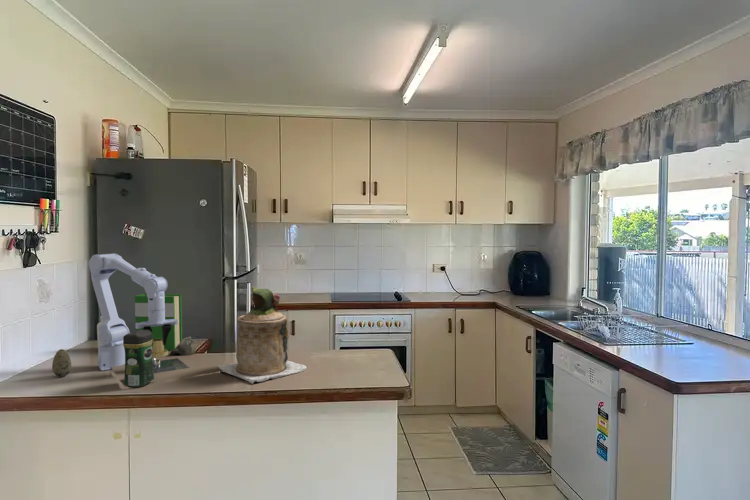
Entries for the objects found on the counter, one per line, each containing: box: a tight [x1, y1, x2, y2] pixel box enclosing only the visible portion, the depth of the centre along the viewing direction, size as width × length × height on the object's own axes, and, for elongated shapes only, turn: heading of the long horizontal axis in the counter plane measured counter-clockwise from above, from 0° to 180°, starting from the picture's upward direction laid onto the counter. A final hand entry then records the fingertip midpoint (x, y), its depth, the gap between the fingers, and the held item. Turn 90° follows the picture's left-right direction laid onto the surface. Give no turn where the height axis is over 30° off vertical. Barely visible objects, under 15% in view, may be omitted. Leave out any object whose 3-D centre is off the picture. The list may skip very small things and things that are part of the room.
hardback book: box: [134, 293, 183, 352], centre depth 229 cm, size 18×7×24 cm, turn 84°
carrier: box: [152, 357, 190, 374], centre depth 198 cm, size 15×17×4 cm
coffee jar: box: [123, 330, 155, 388], centre depth 178 cm, size 10×8×19 cm
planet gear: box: [152, 339, 169, 359], centre depth 194 cm, size 7×7×6 cm
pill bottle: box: [96, 315, 114, 348], centre depth 228 cm, size 8×8×15 cm
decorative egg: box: [51, 348, 72, 378], centre depth 187 cm, size 6×6×10 cm
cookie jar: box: [218, 286, 307, 384], centre depth 193 cm, size 25×25×32 cm
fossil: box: [169, 336, 197, 357], centre depth 218 cm, size 11×9×10 cm
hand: (157, 345), depth 194 cm, fingers closed on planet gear, 4 cm apart
